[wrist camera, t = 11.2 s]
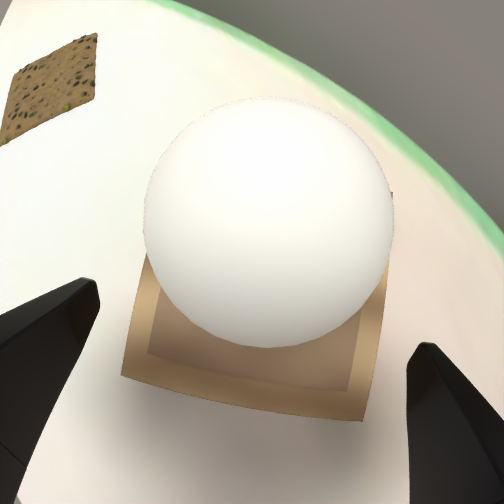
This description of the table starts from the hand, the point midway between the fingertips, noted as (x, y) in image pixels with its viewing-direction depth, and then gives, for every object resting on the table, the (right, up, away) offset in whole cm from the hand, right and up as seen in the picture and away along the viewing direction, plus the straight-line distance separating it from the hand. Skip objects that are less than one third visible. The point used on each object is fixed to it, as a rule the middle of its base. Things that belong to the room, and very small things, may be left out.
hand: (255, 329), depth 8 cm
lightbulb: (+1, +1, +8) cm, 8 cm away
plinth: (+1, 0, +12) cm, 12 cm away
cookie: (-21, +19, +17) cm, 33 cm away
